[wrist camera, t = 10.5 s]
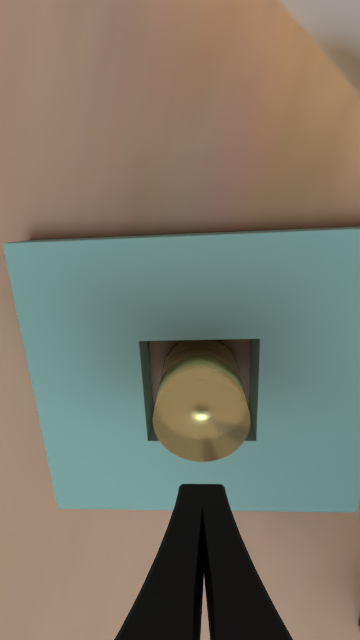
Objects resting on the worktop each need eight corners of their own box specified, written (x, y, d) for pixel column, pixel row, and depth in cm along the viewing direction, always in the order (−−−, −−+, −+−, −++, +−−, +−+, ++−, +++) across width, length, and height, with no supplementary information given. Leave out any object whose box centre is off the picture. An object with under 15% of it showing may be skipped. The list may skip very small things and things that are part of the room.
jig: (374, 225, 16) (406, 226, 13) (339, 478, 21) (357, 512, 18) (29, 240, 17) (2, 243, 15) (73, 476, 22) (57, 508, 19)
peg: (237, 335, 18) (251, 377, 13) (236, 402, 19) (249, 462, 15) (161, 337, 18) (149, 379, 14) (165, 403, 20) (156, 461, 15)
